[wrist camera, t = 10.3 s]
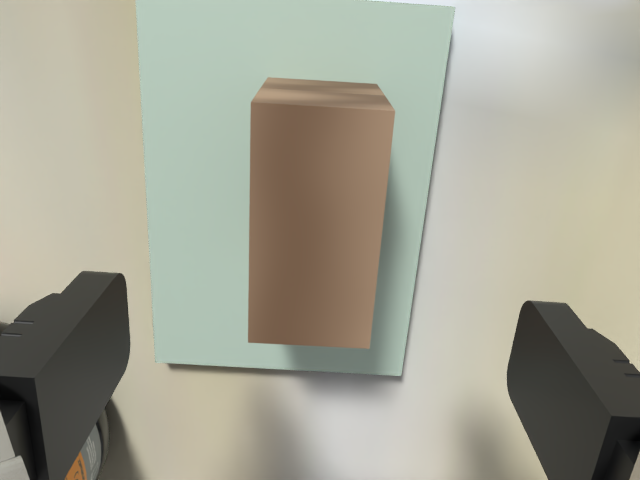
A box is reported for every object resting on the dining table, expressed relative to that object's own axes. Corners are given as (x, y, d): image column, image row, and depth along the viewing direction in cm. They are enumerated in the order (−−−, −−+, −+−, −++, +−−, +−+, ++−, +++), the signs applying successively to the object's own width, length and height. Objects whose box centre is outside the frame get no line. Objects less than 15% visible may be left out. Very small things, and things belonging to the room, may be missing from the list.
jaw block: (376, 83, 19) (395, 110, 14) (358, 274, 22) (369, 348, 17) (267, 77, 19) (250, 102, 14) (263, 268, 21) (247, 342, 17)
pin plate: (448, 6, 19) (470, 7, 16) (398, 361, 24) (408, 408, 21) (144, -16, 19) (113, -19, 16) (161, 348, 24) (140, 393, 21)
